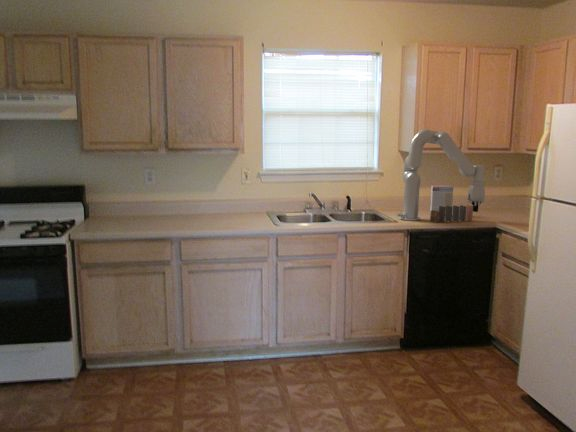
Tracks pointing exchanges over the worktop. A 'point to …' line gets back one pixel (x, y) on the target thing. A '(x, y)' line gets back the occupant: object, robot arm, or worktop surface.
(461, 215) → the domino
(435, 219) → the end block
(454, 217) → the domino
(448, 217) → the domino
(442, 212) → the domino
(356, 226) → the worktop surface
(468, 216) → the domino
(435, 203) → the cracker box
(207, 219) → the worktop surface
